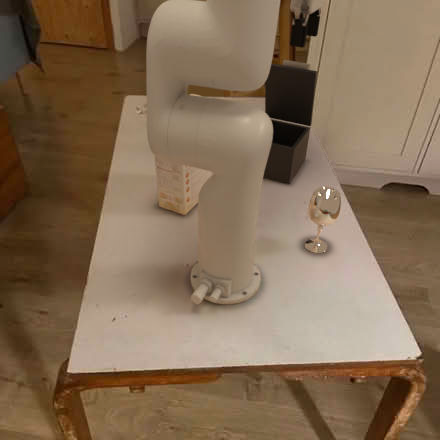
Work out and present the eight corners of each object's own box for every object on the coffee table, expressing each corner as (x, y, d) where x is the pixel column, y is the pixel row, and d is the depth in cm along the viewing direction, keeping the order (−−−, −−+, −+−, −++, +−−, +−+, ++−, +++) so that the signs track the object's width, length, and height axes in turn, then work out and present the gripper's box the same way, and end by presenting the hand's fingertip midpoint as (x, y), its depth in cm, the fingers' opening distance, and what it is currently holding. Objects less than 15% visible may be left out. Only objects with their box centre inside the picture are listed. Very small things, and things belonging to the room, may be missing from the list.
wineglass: (330, 257, 86) (343, 204, 77) (300, 252, 86) (310, 200, 78) (331, 239, 90) (343, 187, 81) (302, 235, 91) (312, 183, 82)
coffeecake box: (192, 176, 106) (190, 92, 93) (218, 184, 104) (220, 99, 90) (157, 206, 97) (149, 118, 83) (185, 216, 94) (181, 127, 81)
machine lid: (316, 73, 95) (323, 59, 98) (265, 64, 98) (273, 51, 101) (310, 126, 106) (317, 113, 109) (265, 116, 110) (272, 104, 112)
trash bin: (289, 184, 105) (294, 149, 98) (243, 172, 108) (245, 138, 102) (305, 160, 113) (310, 127, 107) (262, 150, 116) (265, 117, 110)
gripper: (311, -62, 94) (299, 29, 105) (284, -54, 82) (274, 48, 94) (346, -60, 91) (330, 34, 103) (324, -50, 80) (309, 53, 92)
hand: (303, 40), depth 99 cm, fingers open, 9 cm apart
